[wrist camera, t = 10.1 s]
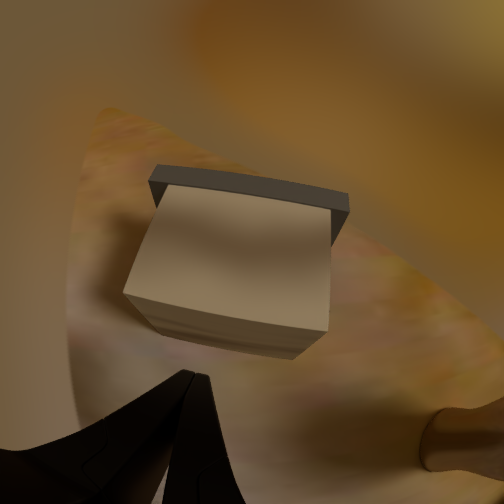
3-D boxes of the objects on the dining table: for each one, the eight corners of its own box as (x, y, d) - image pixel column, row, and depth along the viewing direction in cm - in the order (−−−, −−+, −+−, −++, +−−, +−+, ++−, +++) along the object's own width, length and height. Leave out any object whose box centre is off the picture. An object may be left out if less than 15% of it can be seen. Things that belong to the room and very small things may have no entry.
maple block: (292, 360, 18) (328, 331, 11) (162, 335, 19) (122, 292, 12) (301, 274, 22) (330, 209, 15) (186, 254, 22) (168, 184, 15)
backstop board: (315, 275, 22) (349, 212, 15) (170, 250, 22) (148, 180, 15) (316, 259, 22) (348, 193, 16) (176, 235, 23) (157, 164, 16)
